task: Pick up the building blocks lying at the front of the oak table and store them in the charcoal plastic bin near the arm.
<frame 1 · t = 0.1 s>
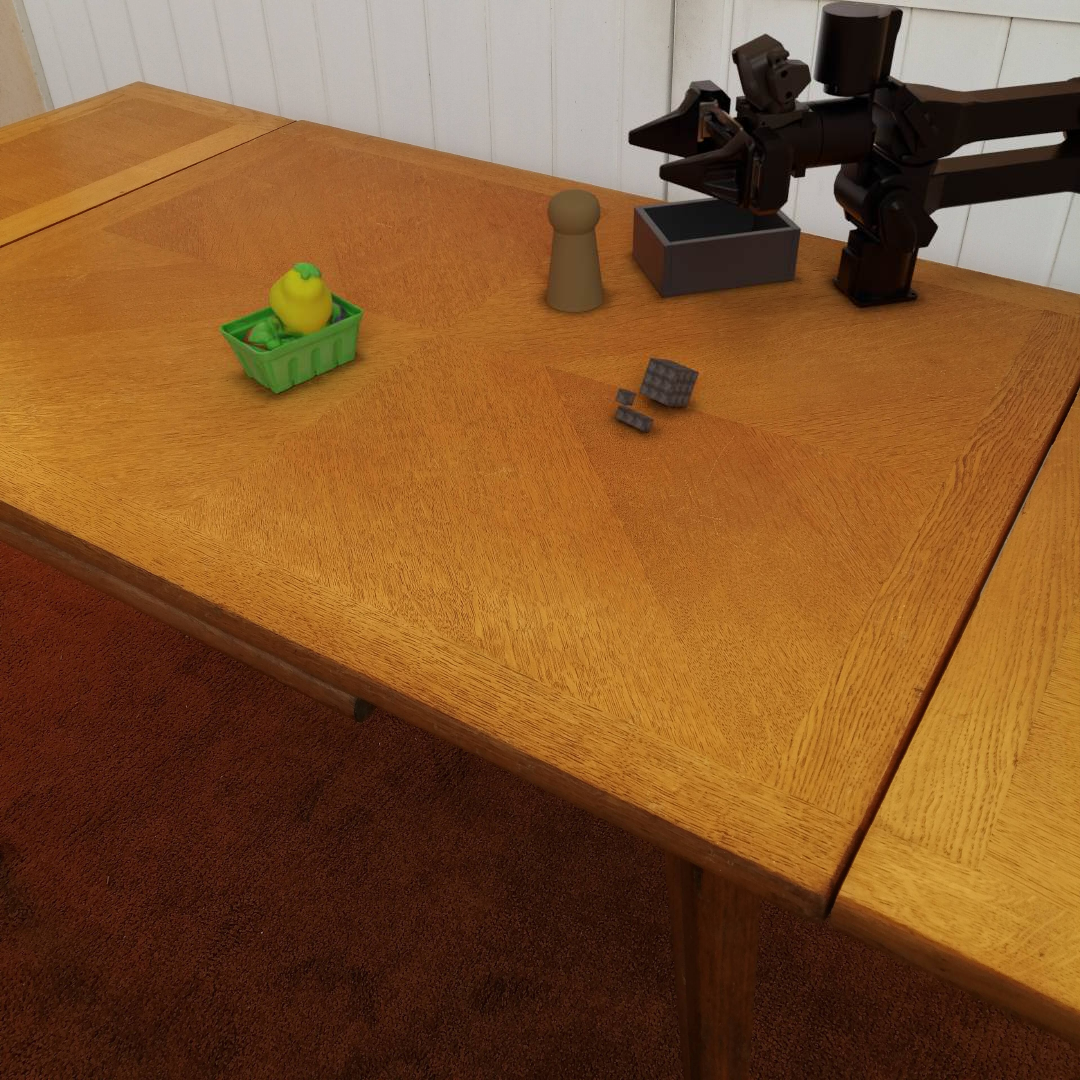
hand: (643, 154, 88), 17 cm above the table, tool horizontal, fingers open, 9 cm apart
bin: (711, 267, 108), on the table
fruit basket: (305, 371, 94), on the table
brown pepper mill: (574, 300, 104), on the table
building blocks: (651, 416, 87), on the table
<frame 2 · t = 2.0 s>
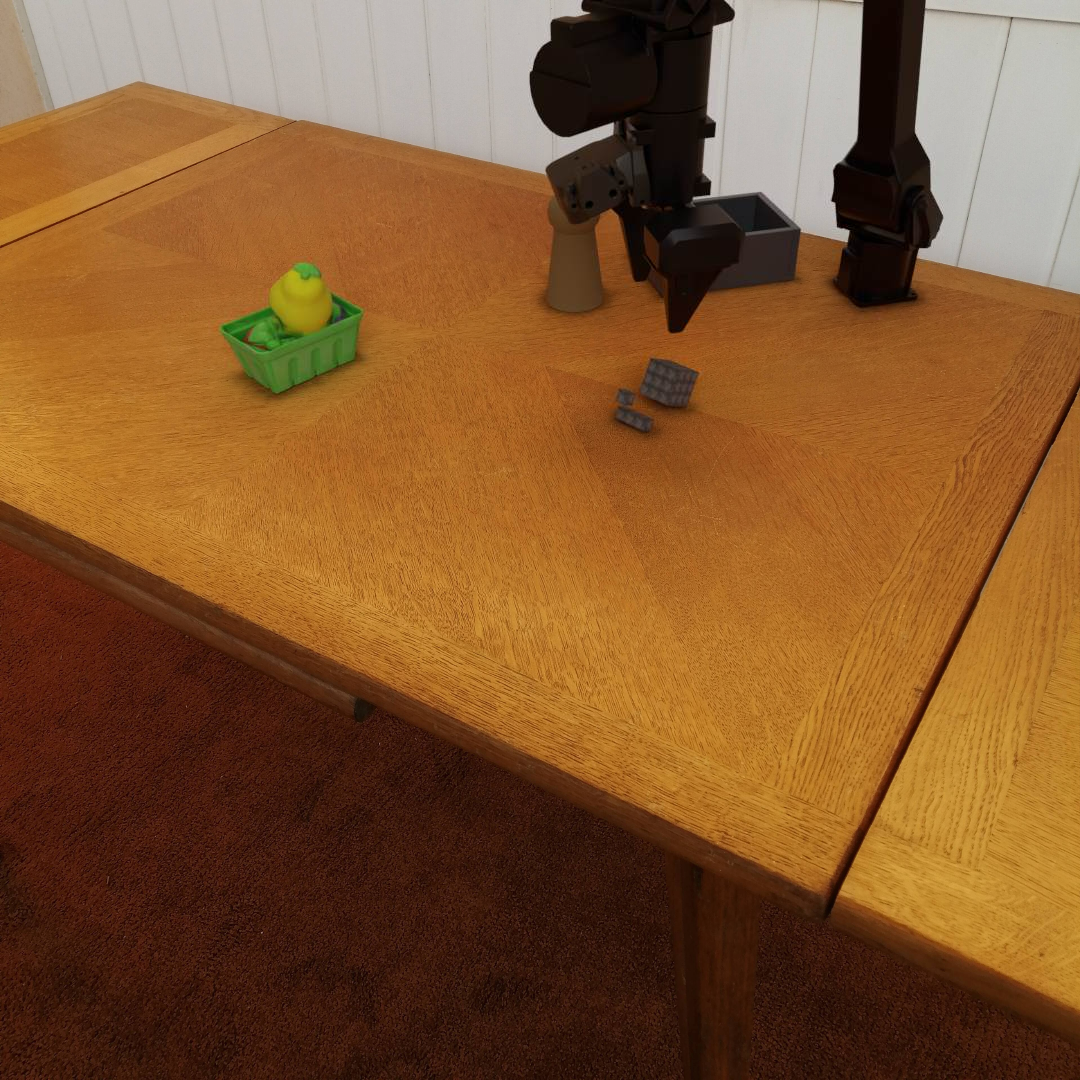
hand: (656, 305, 80), 10 cm above the table, tool pointing down, fingers open, 9 cm apart
nothing on the table moved.
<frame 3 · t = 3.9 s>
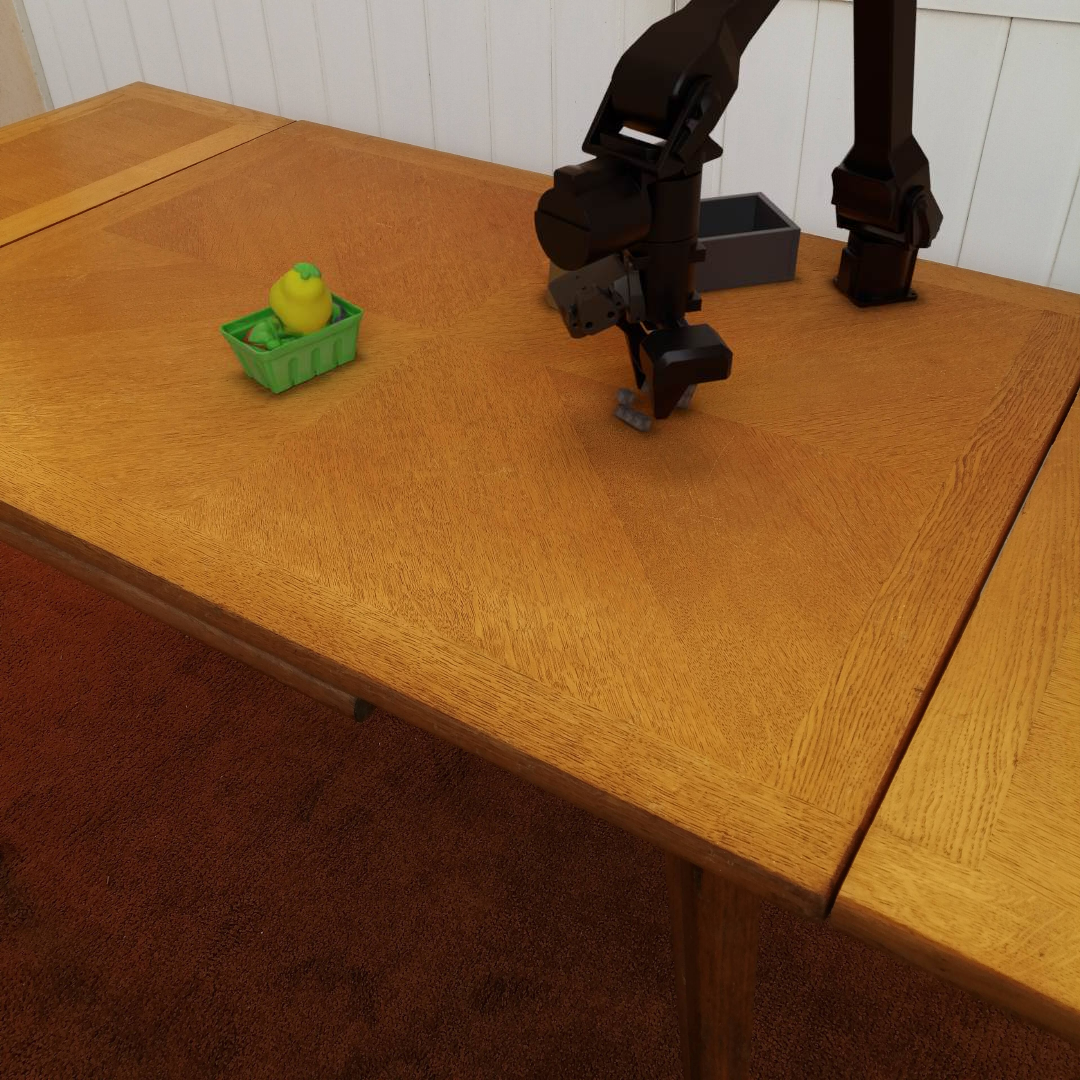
hand: (652, 403, 86), 1 cm above the table, tool pointing down, fingers closed on building blocks, 4 cm apart
building blocks: (651, 414, 87), on the table, touching gripper
everything else where it was.
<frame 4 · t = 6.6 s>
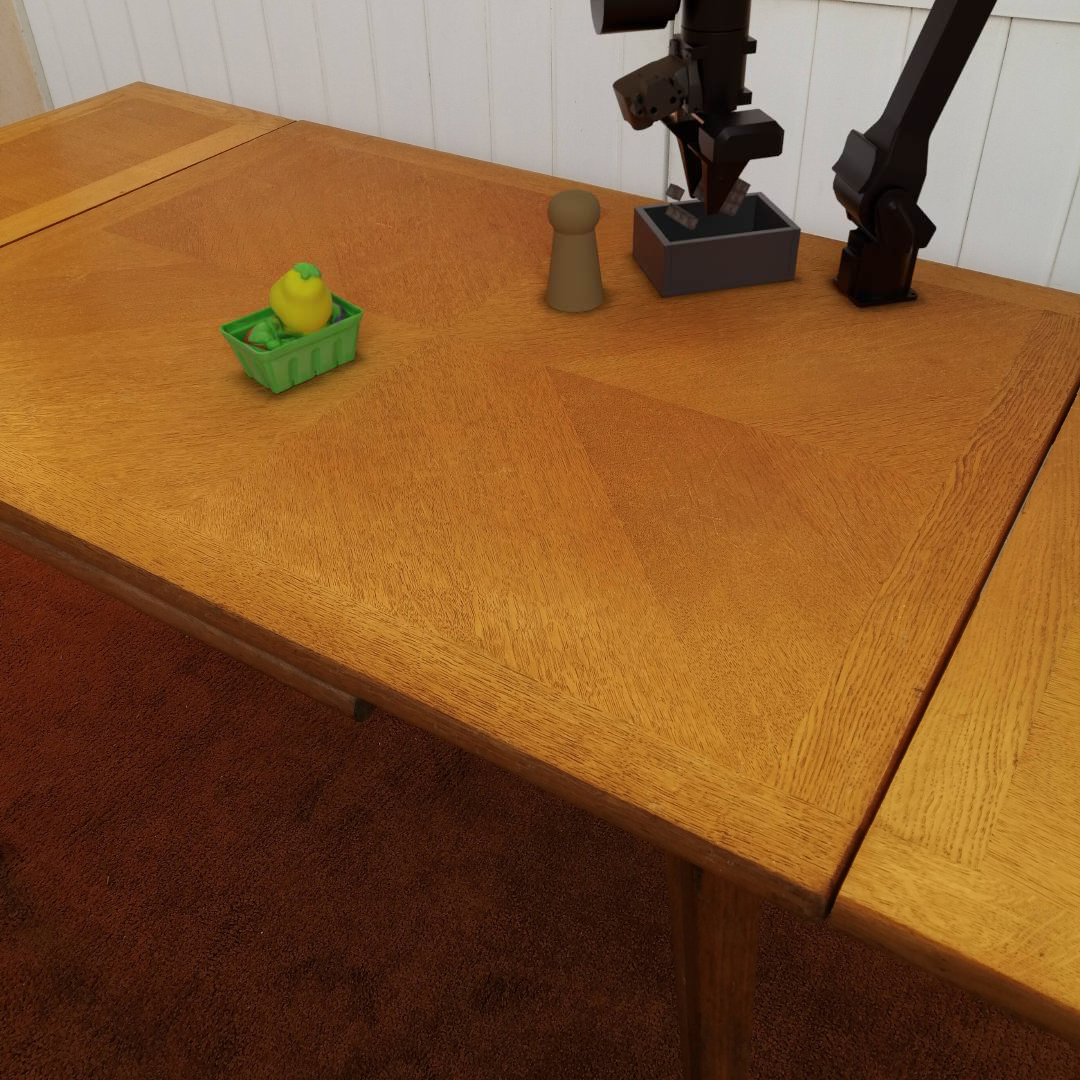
hand: (703, 205, 94), 11 cm above the table, tool pointing down, fingers closed on building blocks, 4 cm apart
building blocks: (699, 219, 95), point 9 cm above the table, touching gripper
everything else where it was.
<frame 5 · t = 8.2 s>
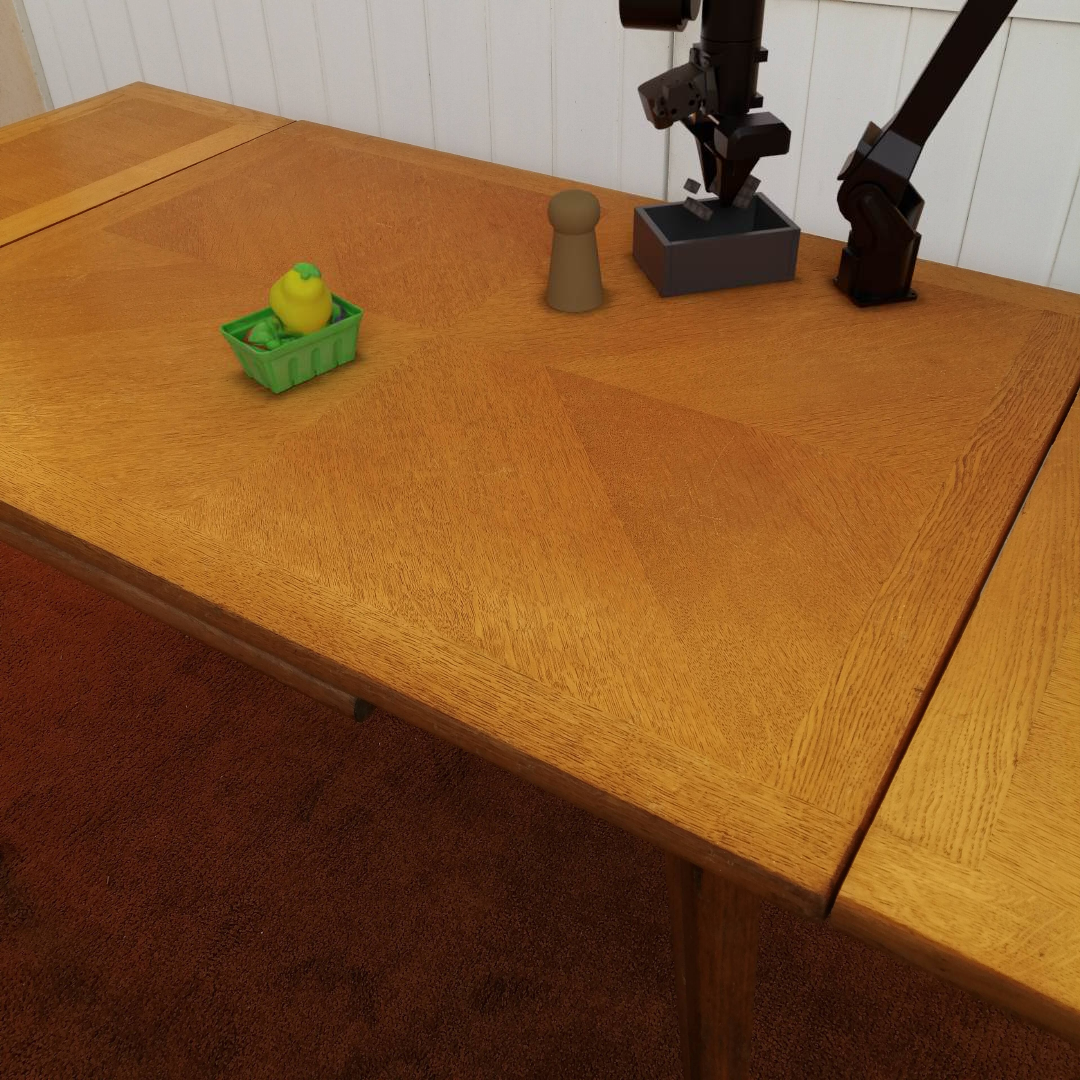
hand: (717, 199, 103), 8 cm above the table, tool pointing down, fingers closed on building blocks, 4 cm apart
building blocks: (714, 211, 104), point 6 cm above the table, touching gripper
everything else where it was.
when the fingers open (4 cm above the table, at t = 10.0 s): building blocks stays where it is, resting on bin.
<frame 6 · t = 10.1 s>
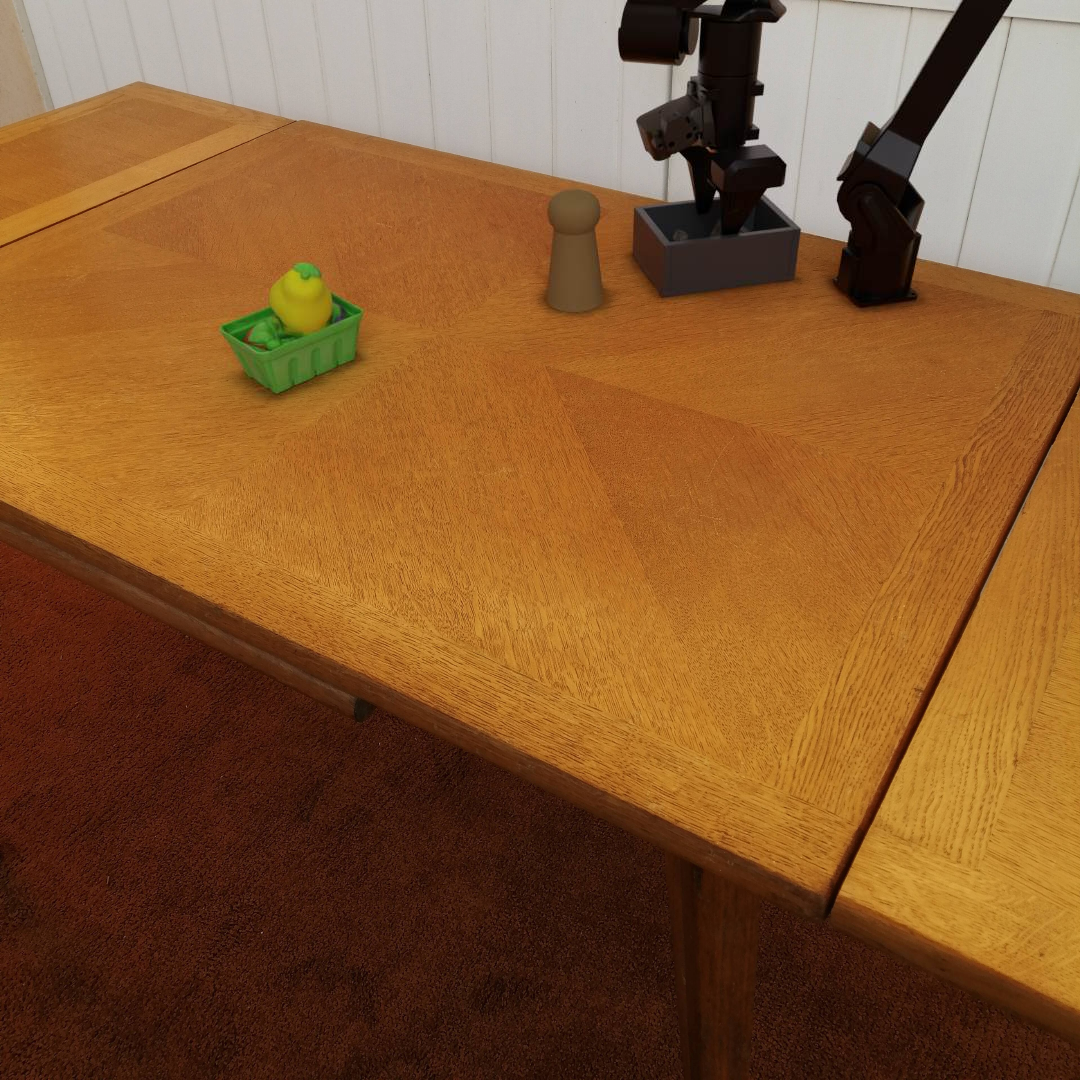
hand: (714, 227, 105), 5 cm above the table, tool pointing down, fingers open, 7 cm apart
building blocks: (709, 263, 108), resting on bin
everything else where it was.
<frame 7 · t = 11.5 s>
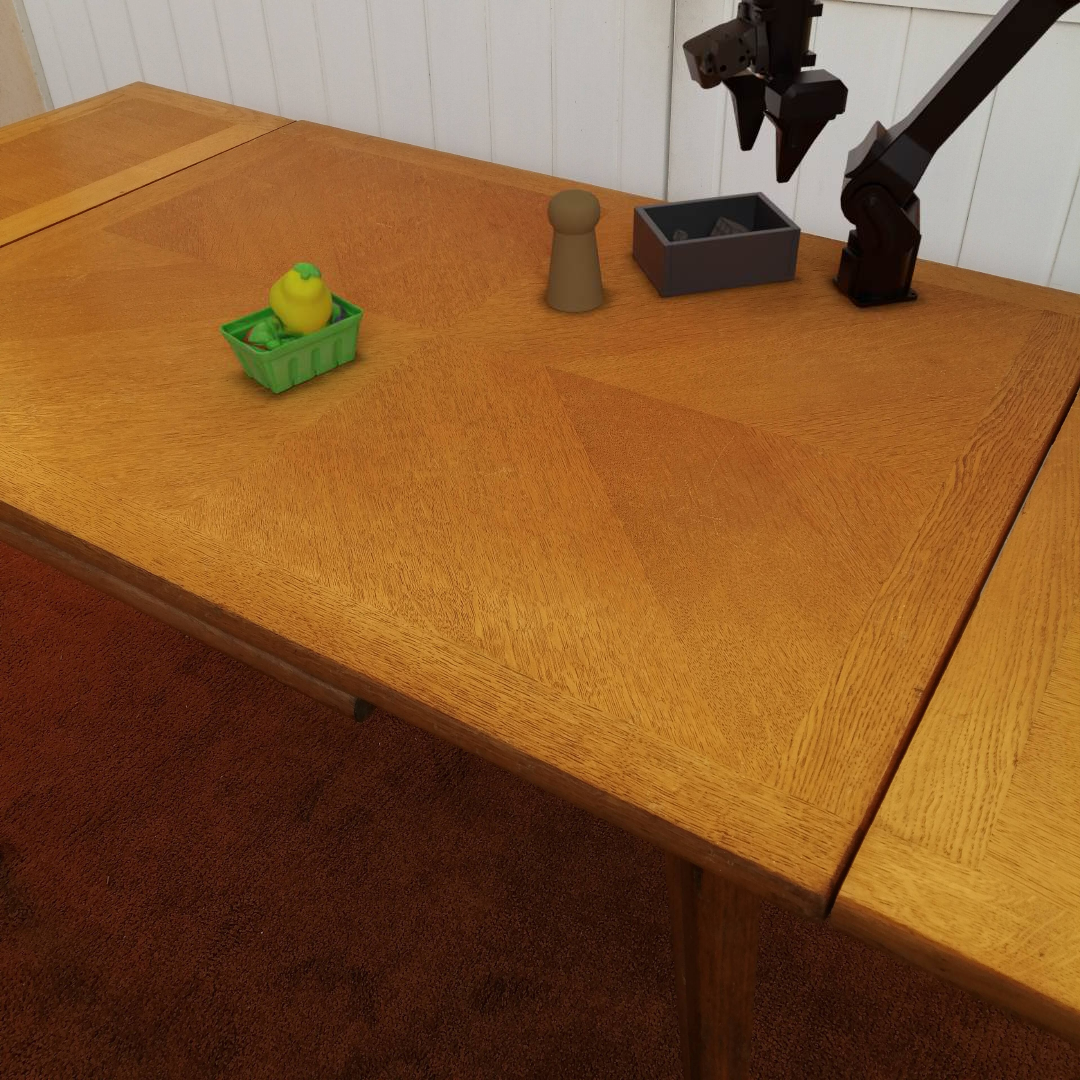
hand: (763, 165, 98), 12 cm above the table, tool pointing down, fingers open, 9 cm apart
nothing on the table moved.
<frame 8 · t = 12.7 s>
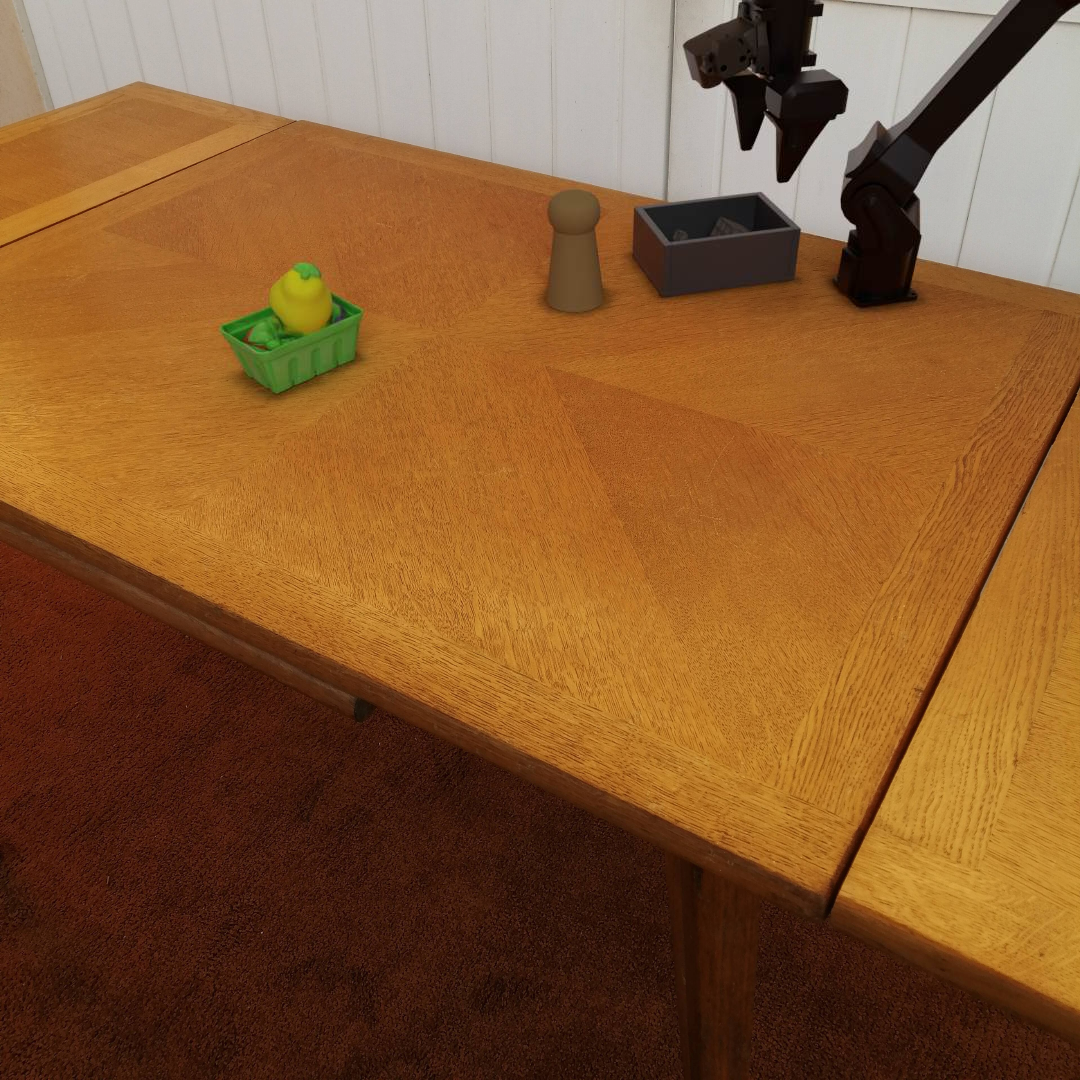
hand: (763, 165, 98), 12 cm above the table, tool pointing down, fingers open, 9 cm apart
nothing on the table moved.
at the end: building blocks inside the target area in the bin (0.2 cm from its centre), point 0.4 cm above the bin's base; the gripper is holding nothing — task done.
